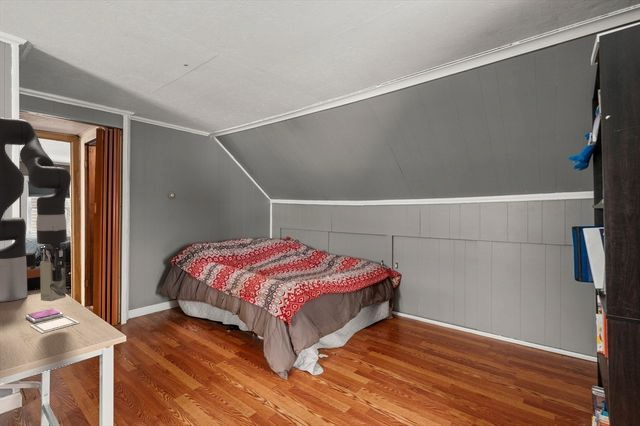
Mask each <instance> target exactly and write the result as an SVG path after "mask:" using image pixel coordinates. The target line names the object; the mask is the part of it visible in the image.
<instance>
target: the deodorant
mask: <svg viewBox="0 0 640 426" xmlns="http://www.w3.org/2000/svg"><path fill="white" fill-rule="evenodd" d="M28 267H30V268H31V269H32V268H35V267H37V255H36V252H29V253H28V252H26V268H28Z"/></svg>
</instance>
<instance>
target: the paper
mask: <svg viewBox="0 0 640 426" xmlns="http://www.w3.org/2000/svg"><path fill="white" fill-rule="evenodd" d="M77 324H80V321H78V320H76V319H73V318H72V317H71V316H70V317H69V315H65V316H61V317H58V318H54V319H50V320H46V321H42V322H38V323H33V324H31V325H30V327H31V328H32V329H34V330H35V331H38V332H39V333H40V334H46V333H50V332H53V331H55V330H56V331H57V330H60V329H64V328H66V327H70V326H74V325H77Z"/></svg>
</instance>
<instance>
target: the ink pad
mask: <svg viewBox="0 0 640 426" xmlns="http://www.w3.org/2000/svg"><path fill="white" fill-rule="evenodd" d="M61 317H64V313H63V312H61V311H60V310H58V309H55V308H49V309H44V310H41V311H36V312H32V313H28V314H27V315H25V319H26V320H27V319H28V321H30V322H31V323H32V324H38V323H42V322H46V321H50V320H53V319H57V318H61Z"/></svg>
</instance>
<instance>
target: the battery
mask: <svg viewBox="0 0 640 426" xmlns="http://www.w3.org/2000/svg"><path fill="white" fill-rule="evenodd" d="M35 290H41V278H40V266H36V267H35V268H32V269H31V268H30V267H28V268H27V292H29V291H35Z"/></svg>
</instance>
